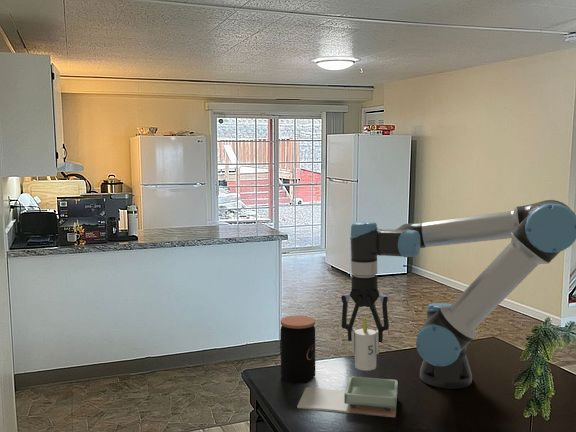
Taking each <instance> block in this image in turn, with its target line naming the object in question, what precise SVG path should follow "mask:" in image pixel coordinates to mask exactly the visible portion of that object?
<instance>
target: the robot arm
mask: <svg viewBox="0 0 576 432" xmlns="http://www.w3.org/2000/svg"><path fill="white" fill-rule="evenodd" d="M508 239H510V242H509V244H508V245H507V246H506V247H505V248H504V249H503V250H502V251H501V252H500V253H499V254H498V255H497V256H496V257H495V259H494V260H492V262H491V263H489V265H487V267H485V269H484V270H483V271H482V272H481V273H480V274H479V275H478V276H477V277H476V279H474V280H473V281H472V283H471V284H469V286H468V287H467V288H466V289H465V290H464V291H463V292H462V293H461V294H460V295H459V296H458V297H457V298H456V299H455V300H454V301H453V303H445V302H435V303H434V302H433V303H429V304H428V305H427V308H426V321H425V322H424V324H423V325H422V327H421V328H420V329H419V330H418V332H417V334H416V340H415V346H416V350H417V353H418V354H419V356H420V357H421V359H423V361H422V362H421V363H422V364H421V366H420V370H419V378H420V380H421V381H422V382H423V383H425V384H427V385H429V386H432V387H435V388H440V389H449V390H456V389H463V388H468V387H469V386H471V385H472V383H473V381H472V380H473V375H472V374H473V373H472V371H471V366H470V364H469V360H468V356H467V348H468V347H467V346H468V345H469V344H470V343H471V341H473V340H474V339H475V338H476V336H477V335H476V328H477V327H479V325H480V324H481V323H483V321H484V320H485V319H486V318H487V317H488V316H489V315H490V314H491V313H492V312H493V311H494V310H495V309H496V308H497V307H498V306H499V305H500V304H501V303H502V302H503V301H504V300H505V299H507V297H508V296H509V295H510V294H511V293H512V292H513V291H514V290H515V289H516V288H517V287H518V286H519V285H520V283H522V282H523V280H525V279H526V278H527V277H528V276H529V275H530V274H531V272H533V271H534V270H535V269H536V267H538V266H539V265H548V264H550V263H551V262H552V261H553V260H554V259H555V258H556V257H557V256H558V255H559V253H561V252H562V251H565V250H567V249H568V248H570V247H571V246H572V245H573V244H574V243H575V242H576V213H575V212H574V210H572V208H570V207H569V206H568V205H567V204H565V203H564V202H562V201H559V200H555V199H547V200H545V199H544V200H542V201H538V202H535V203H530V204H527V205H521V206H520V205H519V206H515V207H514V209H512V210H509V211H502V212H495V213H487V214H478V215H472V216H470V215H469V216H461V217H455V218H448V219H441V220H434V221H433V220H431V221H424V222H417V223H404V224H402V225H400V226H399V227H397V228H395V229H381V228H378V224H377V222H375V221H356V222H353V223H352V224H351V226H350V257H351V258H350V259H351V260H350V265H351V266H350V268H351V269H350V271H351V281H350V282H351V291H350V292H349V293H342V295H341V297H340V298H341V301H342V311H341V312H342V314H341V329H345V330H347V340H348V341H349V342H351V353H352V354H355V333H354V332H355V330H356V329H355V328H353V327H354V323H355V320H356V317H357V315H358V313H359V312H358V311H359V309H360V308H363V307H365V308H369V310H370V312H371V314H372V316H373V317H372V318H373V320H374V322H375V326H376V328H377V329H376V330H375V331H376V355H379V353H380V343H383V340H384V339H383V337H384V336H383V334H384V331H388V330H389V328H390V325H389V324H390V323H389V322H390V321H389V313H388V300H389V295H388V294H382V293H380V292H379V290H378V276H377V275H378V256H381V257H382V256H387V257H404V258H410V257H411V258H414V257H417V256H419V254H420V251H421V249H422V248H432V247H433V248H434V247H440V246H441V247H442V246H450V245H461V244H469V243H477V242H486V241H496V240H499V241H500V240H508ZM350 298H351V299H352V301H353V302H354V308H353V311H352V313H351V314H352V315H351V316H350V320H349V323H347V322H348V310H349V309H348V307H349V301H350ZM378 299H379V301H380V303H382V305H381V306H382V318H383V323H382V322H381V319H380V316H379V313H378V310H377V307H376V304H375V303H376V301H378ZM348 341H347V342H348Z"/></svg>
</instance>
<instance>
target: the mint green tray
mask: <svg viewBox="0 0 576 432" xmlns="http://www.w3.org/2000/svg"><path fill="white" fill-rule="evenodd" d="M347 380H348V381H347V384H346V388H345V390H344V391H345V394H344V404H350V406H351V407H352V408H355V407H356V406H357V405H365V406H376V407H384V409H385V410H386V411H390V410H391V408H396V409H397V404H396V403H397V401H398V400H397V399H398V388H399V387H398V382H399V381H398V379H391V378H390V379H388V378H378V377H377V378H376V377H366V376H365V377H363V376H353V375H349V377H348V379H347Z"/></svg>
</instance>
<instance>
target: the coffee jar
mask: <svg viewBox="0 0 576 432" xmlns="http://www.w3.org/2000/svg"><path fill="white" fill-rule="evenodd" d="M315 324H316V319H315V318H313V317H311V316H308V315H289V316H285V317H282V318H281V319H280V325H281V327H280V376H281V378H282V379H283V380H284V381H285V382H287V383H289V384H307V383H309V381H310V382H312V381H313V380H314V378H315V376H316V327H315Z"/></svg>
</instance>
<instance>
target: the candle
mask: <svg viewBox="0 0 576 432" xmlns="http://www.w3.org/2000/svg"><path fill="white" fill-rule="evenodd" d="M362 317H363V318H362V321H363V322H362V324H363V325H362V328H359V329H355V332H354V333H355V353H354V368H355V369H357V370H360V371H365V372H366V371H367V372H368V371H372V370H375V369H376V368H377V354H376V330H374V329H371V328H368V321H367V318H366V317H365V316H362Z"/></svg>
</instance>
